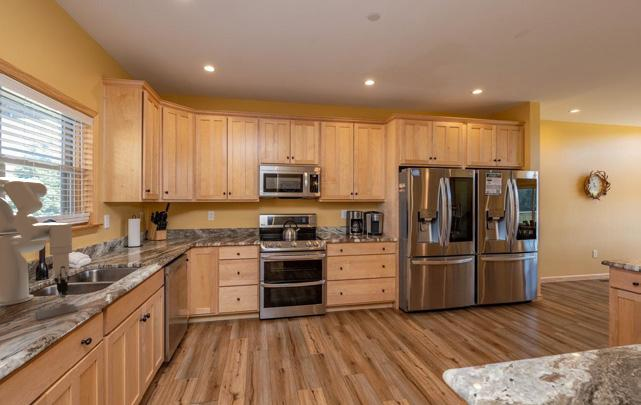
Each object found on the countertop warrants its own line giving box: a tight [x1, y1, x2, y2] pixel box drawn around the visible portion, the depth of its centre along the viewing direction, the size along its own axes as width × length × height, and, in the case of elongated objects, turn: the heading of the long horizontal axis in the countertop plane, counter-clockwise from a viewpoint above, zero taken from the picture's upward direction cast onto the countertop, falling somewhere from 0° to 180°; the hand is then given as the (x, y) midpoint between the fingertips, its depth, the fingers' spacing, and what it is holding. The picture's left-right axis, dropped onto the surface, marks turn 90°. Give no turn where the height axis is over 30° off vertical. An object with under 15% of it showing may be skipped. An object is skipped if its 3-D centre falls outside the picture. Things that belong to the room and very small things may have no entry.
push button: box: [53, 275, 71, 299], centre depth 127 cm, size 7×5×10 cm
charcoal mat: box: [35, 303, 79, 322], centre depth 117 cm, size 12×12×1 cm
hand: (62, 289), depth 128 cm, fingers closed on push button, 4 cm apart
